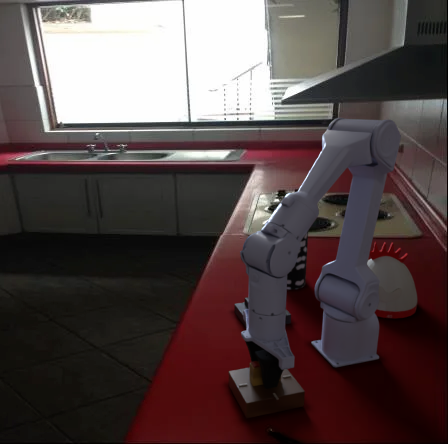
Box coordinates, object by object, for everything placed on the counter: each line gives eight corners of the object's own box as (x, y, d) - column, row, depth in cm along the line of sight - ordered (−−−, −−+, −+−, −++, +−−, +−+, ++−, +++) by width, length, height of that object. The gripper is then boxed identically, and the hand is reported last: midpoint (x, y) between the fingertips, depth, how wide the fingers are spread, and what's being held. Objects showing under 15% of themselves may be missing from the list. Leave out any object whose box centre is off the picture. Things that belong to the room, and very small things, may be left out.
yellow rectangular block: (276, 374, 71) (277, 356, 70) (281, 381, 70) (281, 362, 68) (249, 380, 70) (249, 361, 69) (253, 386, 69) (253, 367, 68)
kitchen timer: (348, 285, 106) (353, 230, 101) (410, 292, 101) (419, 234, 96) (350, 313, 94) (356, 251, 89) (421, 322, 89) (431, 257, 84)
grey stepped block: (274, 305, 99) (274, 290, 97) (290, 323, 91) (291, 307, 90) (234, 312, 97) (234, 296, 96) (247, 330, 89) (248, 314, 88)
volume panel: (279, 373, 76) (279, 358, 75) (306, 409, 67) (307, 393, 66) (227, 383, 74) (227, 368, 73) (247, 421, 66) (248, 405, 65)
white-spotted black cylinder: (305, 291, 105) (309, 215, 98) (270, 287, 107) (273, 213, 101) (305, 276, 112) (309, 205, 106) (273, 274, 115) (275, 204, 108)
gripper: (226, 289, 72) (227, 356, 76) (263, 336, 58) (261, 414, 62) (265, 283, 73) (263, 350, 77) (309, 327, 59) (304, 405, 64)
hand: (265, 378), depth 70 cm, fingers open, 3 cm apart
